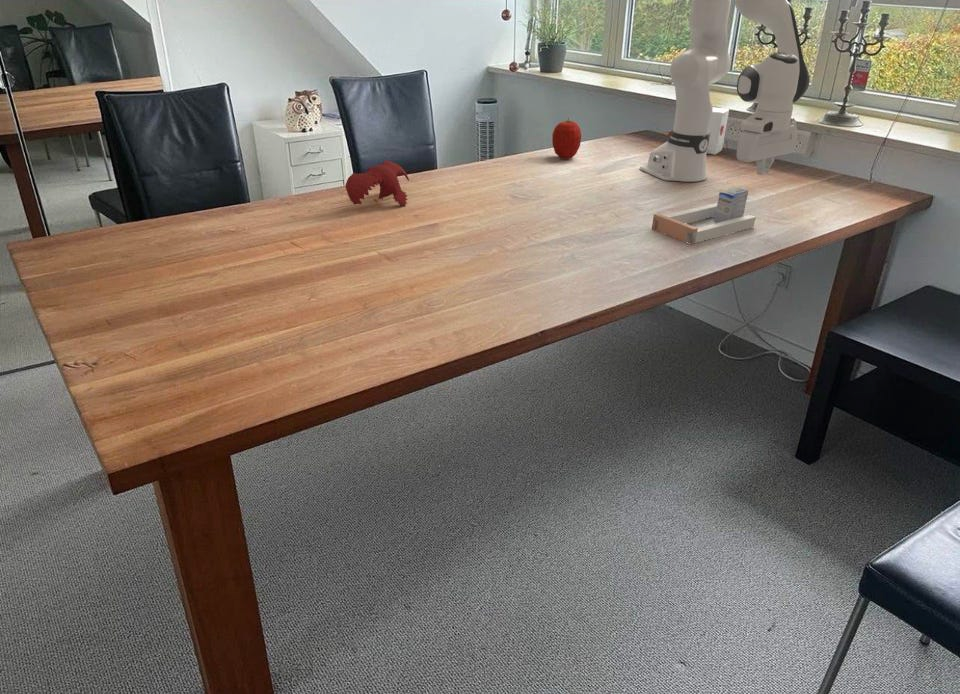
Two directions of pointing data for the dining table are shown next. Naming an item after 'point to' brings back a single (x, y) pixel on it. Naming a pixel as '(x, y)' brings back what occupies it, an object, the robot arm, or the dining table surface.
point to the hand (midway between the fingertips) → (762, 174)
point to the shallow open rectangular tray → (690, 234)
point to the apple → (566, 139)
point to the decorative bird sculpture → (377, 175)
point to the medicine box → (731, 204)
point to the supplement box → (717, 130)
